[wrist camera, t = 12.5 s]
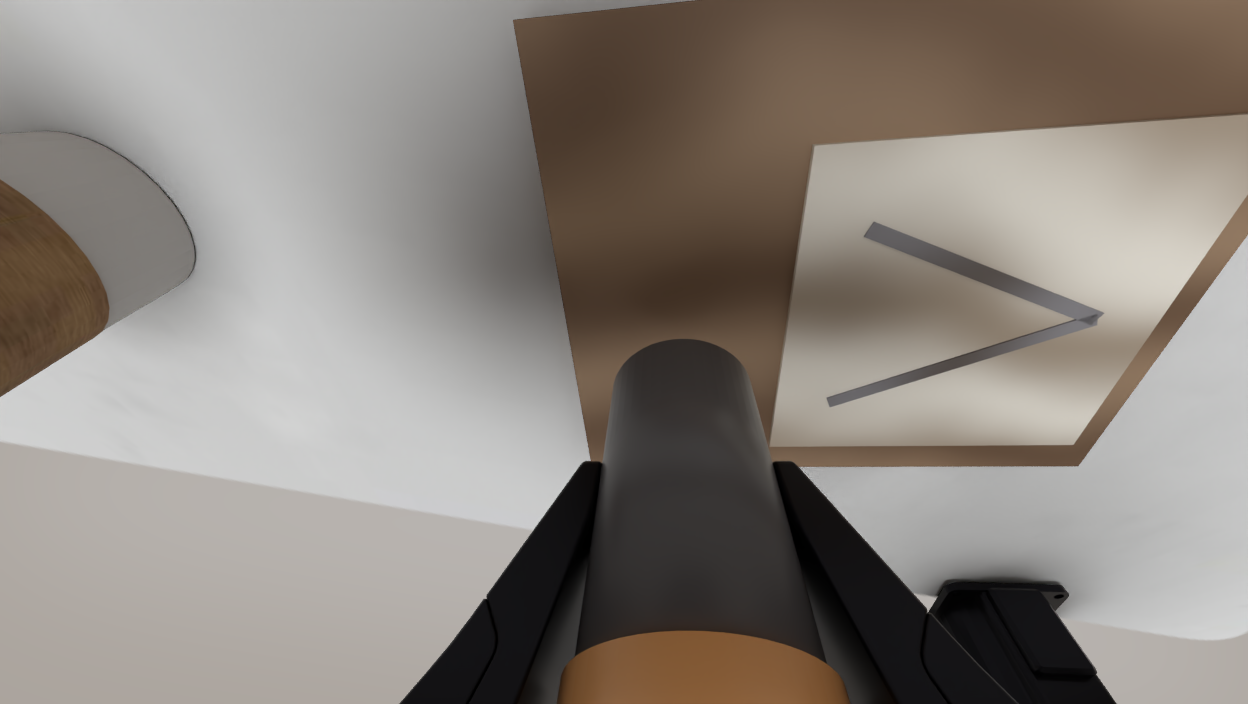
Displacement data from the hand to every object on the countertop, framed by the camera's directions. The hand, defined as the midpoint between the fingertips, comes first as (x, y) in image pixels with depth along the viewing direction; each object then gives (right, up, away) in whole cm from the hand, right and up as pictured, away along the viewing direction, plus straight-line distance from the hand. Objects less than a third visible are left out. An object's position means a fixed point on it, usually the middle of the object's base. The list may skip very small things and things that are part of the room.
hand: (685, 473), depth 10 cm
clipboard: (+7, +5, +7) cm, 11 cm away
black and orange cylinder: (0, +1, +2) cm, 3 cm away
